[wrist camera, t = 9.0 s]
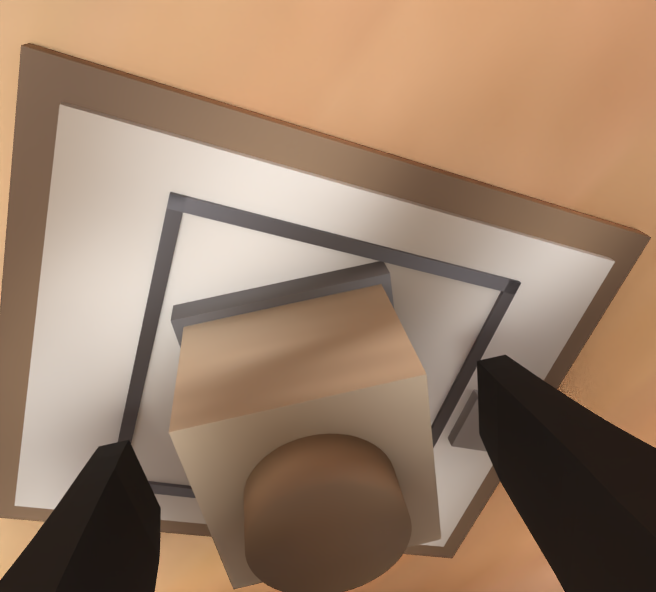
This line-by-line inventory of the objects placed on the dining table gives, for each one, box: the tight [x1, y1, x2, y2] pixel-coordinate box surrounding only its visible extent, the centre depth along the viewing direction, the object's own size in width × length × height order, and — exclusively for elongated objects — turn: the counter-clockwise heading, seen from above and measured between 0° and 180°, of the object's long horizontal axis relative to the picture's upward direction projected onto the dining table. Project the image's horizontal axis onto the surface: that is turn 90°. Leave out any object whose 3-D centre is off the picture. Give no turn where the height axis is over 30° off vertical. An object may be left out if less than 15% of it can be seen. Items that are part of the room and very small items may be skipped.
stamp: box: [169, 261, 441, 592], centre depth 11 cm, size 4×4×5 cm
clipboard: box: [0, 43, 651, 558], centre depth 13 cm, size 14×11×1 cm
